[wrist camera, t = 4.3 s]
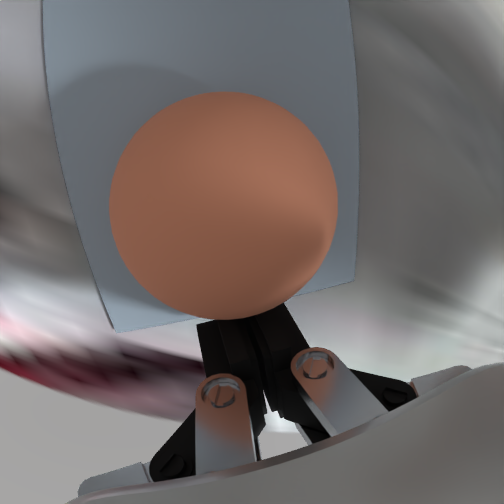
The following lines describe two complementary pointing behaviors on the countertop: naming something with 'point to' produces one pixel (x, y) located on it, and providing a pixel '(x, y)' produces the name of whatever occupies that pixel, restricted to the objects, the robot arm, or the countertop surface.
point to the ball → (223, 205)
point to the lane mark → (186, 85)
